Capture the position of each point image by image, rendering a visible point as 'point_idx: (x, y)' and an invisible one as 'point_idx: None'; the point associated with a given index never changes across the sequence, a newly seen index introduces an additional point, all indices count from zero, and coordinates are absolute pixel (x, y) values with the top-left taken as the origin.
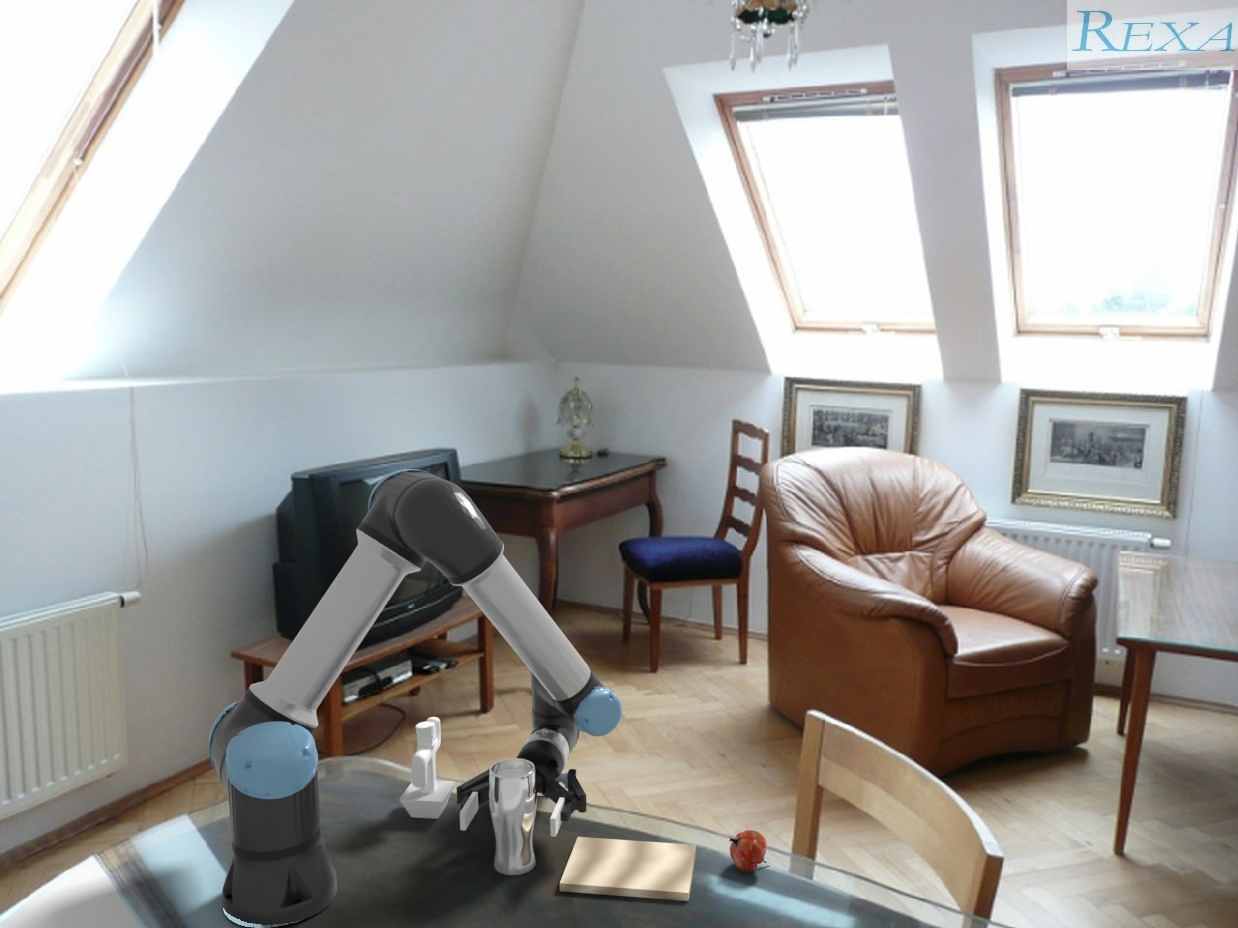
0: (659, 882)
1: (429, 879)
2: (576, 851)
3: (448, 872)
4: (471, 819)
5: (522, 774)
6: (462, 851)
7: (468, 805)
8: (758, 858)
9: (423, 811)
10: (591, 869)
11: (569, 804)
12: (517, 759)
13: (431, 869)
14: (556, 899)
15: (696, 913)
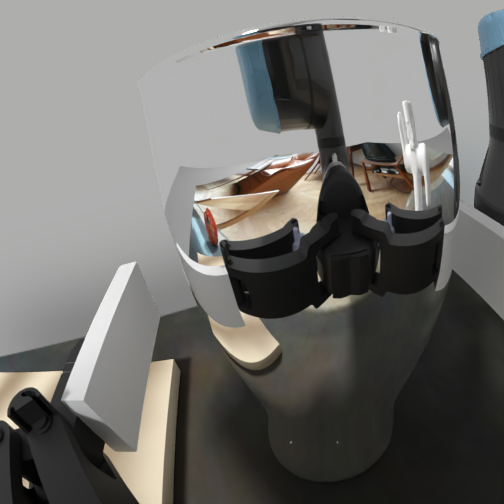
0: (15, 390)
1: (456, 302)
2: (149, 492)
3: (449, 332)
4: (468, 280)
5: (324, 208)
6: (495, 402)
7: (467, 213)
8: None
9: None
10: None
11: (61, 394)
12: (333, 27)
13: (482, 322)
14: (183, 349)
15: (8, 361)
